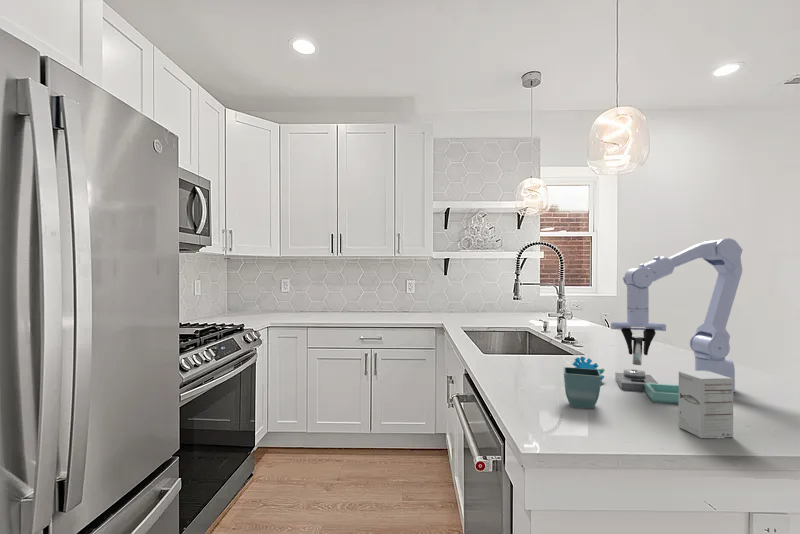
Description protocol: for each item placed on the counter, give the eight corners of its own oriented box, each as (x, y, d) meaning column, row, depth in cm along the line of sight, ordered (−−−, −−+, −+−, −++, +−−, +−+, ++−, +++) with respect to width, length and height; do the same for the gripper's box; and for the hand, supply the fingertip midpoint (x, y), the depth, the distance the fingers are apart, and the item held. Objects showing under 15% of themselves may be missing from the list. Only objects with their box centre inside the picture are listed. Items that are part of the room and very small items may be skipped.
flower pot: (599, 403, 123) (599, 368, 123) (601, 412, 115) (601, 376, 115) (563, 400, 126) (563, 366, 126) (563, 409, 117) (563, 373, 117)
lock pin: (642, 363, 140) (643, 337, 140) (644, 366, 136) (645, 338, 136) (629, 362, 141) (630, 336, 141) (631, 364, 138) (632, 337, 138)
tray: (700, 395, 130) (700, 386, 130) (713, 406, 119) (713, 396, 119) (644, 391, 134) (644, 382, 134) (652, 401, 124) (652, 392, 124)
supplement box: (677, 427, 104) (676, 370, 104) (708, 426, 104) (708, 370, 104) (701, 439, 96) (701, 378, 96) (735, 438, 97) (734, 377, 97)
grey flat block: (650, 381, 147) (650, 369, 147) (659, 392, 133) (659, 379, 133) (615, 378, 150) (615, 367, 150) (621, 389, 136) (621, 376, 136)
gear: (582, 381, 139) (570, 353, 146) (572, 392, 143) (560, 364, 150) (613, 384, 142) (599, 357, 149) (602, 394, 146) (589, 367, 153)
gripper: (612, 308, 137) (613, 355, 137) (668, 310, 133) (668, 358, 133) (609, 307, 144) (610, 351, 144) (662, 308, 139) (663, 353, 139)
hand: (638, 354), depth 139 cm, fingers closed on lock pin, 3 cm apart
